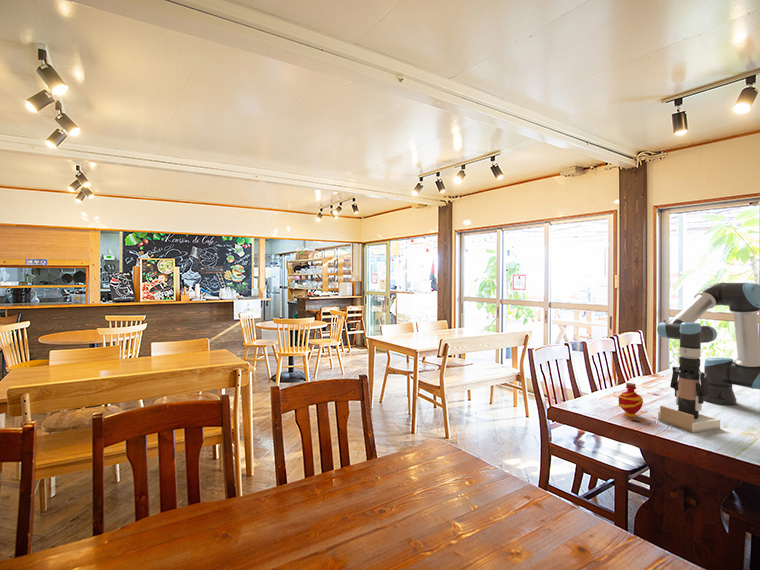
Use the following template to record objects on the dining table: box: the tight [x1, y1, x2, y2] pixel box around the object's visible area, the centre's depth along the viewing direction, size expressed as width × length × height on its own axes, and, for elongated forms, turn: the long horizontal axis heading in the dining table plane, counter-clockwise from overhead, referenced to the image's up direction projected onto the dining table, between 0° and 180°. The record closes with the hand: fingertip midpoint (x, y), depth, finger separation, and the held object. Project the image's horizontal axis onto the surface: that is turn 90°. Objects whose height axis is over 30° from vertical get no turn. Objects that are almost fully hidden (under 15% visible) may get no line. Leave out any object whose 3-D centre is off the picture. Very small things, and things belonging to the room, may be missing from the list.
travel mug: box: [677, 371, 701, 419], centre depth 180 cm, size 8×8×20 cm
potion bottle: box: [618, 382, 644, 418], centre depth 192 cm, size 10×10×15 cm
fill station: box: [657, 405, 721, 434], centre depth 180 cm, size 16×16×7 cm
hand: (688, 407), depth 180 cm, fingers closed on travel mug, 8 cm apart
